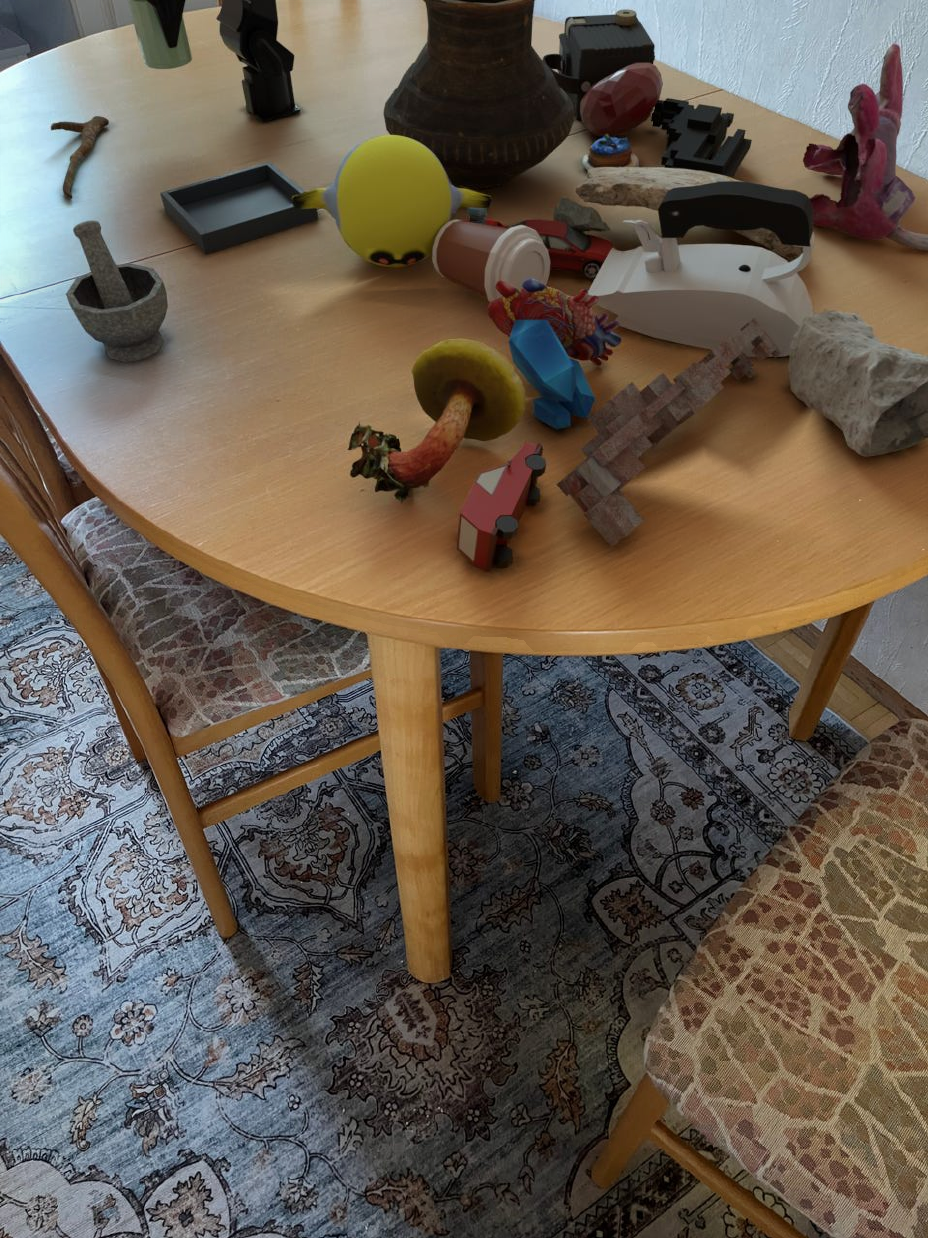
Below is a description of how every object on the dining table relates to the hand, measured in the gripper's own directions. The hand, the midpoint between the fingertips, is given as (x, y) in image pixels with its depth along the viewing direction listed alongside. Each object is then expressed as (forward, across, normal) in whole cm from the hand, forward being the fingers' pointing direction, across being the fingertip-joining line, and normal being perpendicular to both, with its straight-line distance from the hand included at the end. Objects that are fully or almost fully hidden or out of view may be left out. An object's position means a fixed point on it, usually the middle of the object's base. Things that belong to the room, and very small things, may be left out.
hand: (164, 39), depth 125 cm
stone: (+7, +57, +27) cm, 63 cm away
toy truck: (+10, +96, -4) cm, 97 cm away
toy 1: (+12, +44, +10) cm, 46 cm away
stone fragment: (+10, +56, +46) cm, 73 cm away
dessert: (+14, +44, +45) cm, 65 cm away
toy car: (+12, +61, +23) cm, 66 cm away
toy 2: (+3, +66, +58) cm, 88 cm away
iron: (+13, +79, +31) cm, 86 cm away
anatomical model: (+1, +75, +7) cm, 75 cm away
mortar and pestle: (+13, +48, -24) cm, 55 cm away
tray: (+12, +28, -3) cm, 30 cm away
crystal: (+10, +88, +8) cm, 89 cm away
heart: (+8, +39, +49) cm, 63 cm away
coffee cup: (+9, +56, +12) cm, 58 cm away
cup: (+2, 0, 0) cm, 3 cm away
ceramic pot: (+12, +35, +29) cm, 47 cm away
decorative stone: (+5, +106, +32) cm, 111 cm away
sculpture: (+9, +89, +28) cm, 94 cm away
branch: (+13, 0, -15) cm, 19 cm away
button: (+7, +50, +19) cm, 54 cm away
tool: (+13, +48, +55) cm, 74 cm away
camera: (+7, +27, +64) cm, 69 cm away
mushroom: (+8, +90, -11) cm, 91 cm away
